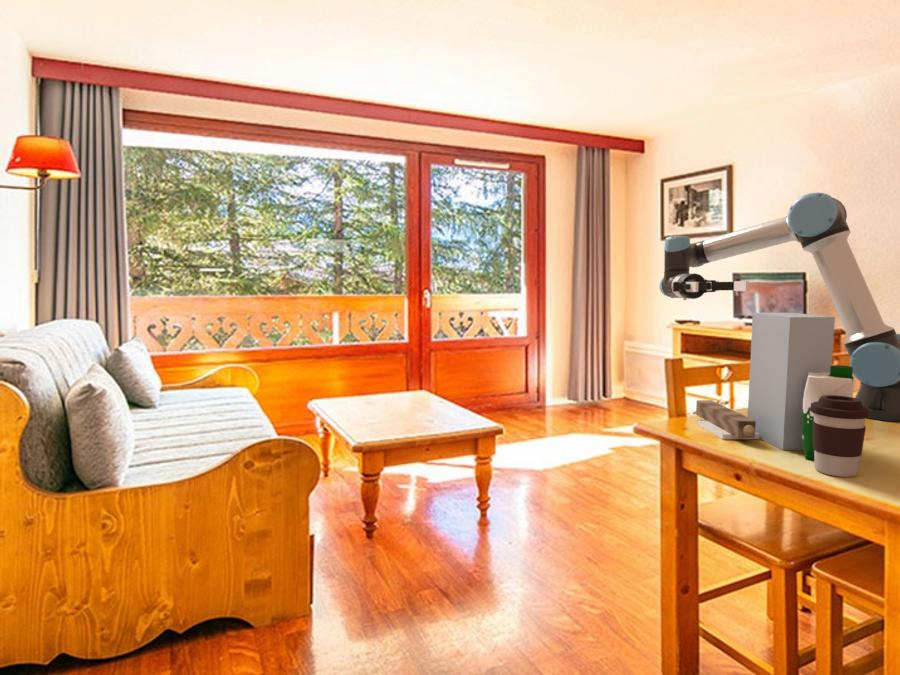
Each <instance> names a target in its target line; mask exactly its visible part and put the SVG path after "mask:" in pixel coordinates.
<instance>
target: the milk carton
mask: <svg viewBox="0 0 900 675" xmlns="http://www.w3.org/2000/svg"><path fill="white" fill-rule="evenodd" d="M853 388H854V374H853V367H850V365H849V366H848V365H841V364H837V365H836V364H835V365H834V364H832V366H830V373H825V372H822V373H813V372H808V376H807V381H806V385H805V390H804V397H803V410H802V439H803V446H804V450H803V451H804V456H805V460H811V461H815V459H814V449H813V420H814V413H813V412H811V410H810V408H811V403H813V402H818V400H819V398H820V397H821V396H825V395H837V396H847V397H853V398H854V391H853V390H854V389H853Z"/></svg>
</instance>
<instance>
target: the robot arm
mask: <svg viewBox="0 0 900 675" xmlns="http://www.w3.org/2000/svg"><path fill="white" fill-rule="evenodd" d="M787 211H788V212H787V216H784V217H780V218H777V219H773V220H769V221H767V222H763V223H760V224H759V223H758V224H756V225H752V226H749V227H746V228H741V229H739V230H735V231H732V232H728V233H724V234H722V235H721V234H720V235H717V236H715V237H711V238H708V239H704V240H701V241H696V242H694V243H691V238H690V237H689V236H687V235H673V236H668V237H666V238H665V241H664V248H663V250H664V264H663V265H664V269H663V270H664V272H663V277H662V279H661V280H660V282H659V290H660V292H661V293H662V294H663V295H664V296H666V297H668V298H671V299H683V301H687V299H688V300H690V299H691V300H695V299H696V300H697V299H699V298H700V297H702V296H703V295H704V294H707V293H716V292H717V291H718V292H719V291H734V292H749V288H750V287H749V282H750V281H749V280H741V278H736V280H734V281H719V280H718V281H717V280H715V279H705V278H704V277H703V276H702V275H701V274H699V273H690V268H698V267H701V266H704V265H706V264H709V263H712V262H716V261H720V260H724V259H727V258H731V257H735V256H740V255H743V254H747V253H750V252H751V253H752V252H755V251H760V250H762V249H766V248H770V247H774V246H778V245H782V244H786V243H790V242H797V243H800V246H801V247H802V250H803V251H805V252H808V253H811V255H812V256H813V259H814V262H815V264H816V267H817V268H818V271H819V273H820V276H821V277H822V280H823V282H824V284H825V287H826V289H827V291H828V294H829V296H830V298H831V301H832V304H833V305H834V307H835V310H836V312H837V314H838V316H839V319H840V321H841V324H842V326H843V328H844V331H845V333H846V338H845V339H844V341H843V345H844V347H845V350H846V351H847V354H848V357H849V366H850V367H853V374H852V375H853V377H854V378H856V379H857V380H858V381H860V386H859V389H858V390H857V392H856V395H855V396H854V398H857V399H859V400H861V402H862V405H863V406H865V407H867V408H869V409H870V416H869V418H868V419H871V420H872V419H873V420H879V421H887V422H900V333H897V331H896V330H895V328H894V327H893V326H890V325H888V324H886V323H884V319H883V318H882V315H881V313H880V311H879V309H878V307H877V304H876V302H875V300H874V297H873V296H872V292H871V291H870V289H869V287H868V284H867V282H866V280H865V277H864V276H863V272H862V270H861V268H860V266H859V264H858V261H857V260H856V257H855V255H854V253H853V250H852V248H851V246H850V244H849V241H848V238H849V237H850V234H851V229H850V228H849V224H848V223H847V218H848V215H847V214H848V213H847V212H848V211H847V209H846V207H845V205H844V204H843V203H842V202H841V200H838V199H837V198H835V197H832V196H831V195H830V194H828V193H824V192H811V193H807V194H804V195H802V196H799V197H798V198H797V199H796V200H795V201H794V202H793V203H792V204H791V206H790V207H789V209H788V210H787Z"/></svg>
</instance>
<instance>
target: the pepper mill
mask: <svg viewBox="0 0 900 675" xmlns="http://www.w3.org/2000/svg"><path fill="white" fill-rule="evenodd" d="M695 415H696V416H697V417H700V418H702V419H703V420H704V421H708V422H710V423H712V424H714V425H715V426H717V427H719V428H721V429H723V430H725V431H726V432H728V433H730V434H732V435H734V436H735V437H737V438H755V424H756V421H754V420H752V419H750V418H748V416H746V415H744V414H741V413H739V412H737V411H735V410H733V409H731V408H729V407H726V406H725V405H722V404H720V403H717V402H715V401H714V400H709V399H708V400H705V399H703V400H700V399H699V400H696V410H695Z"/></svg>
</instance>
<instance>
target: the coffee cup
mask: <svg viewBox="0 0 900 675" xmlns="http://www.w3.org/2000/svg"><path fill="white" fill-rule="evenodd" d="M810 410H811V412H813V413H814V420H813V449H814V459H815V460H814V469H815V470H816V471H817V472H819V473H821V474H823V475H828V476H833V477H838V478H839V477H840V478H851V477H854V476H857V475H858V472H859V467H860V466H859V465H860V459H861V456H862V453H863V448H864V440H865V435H866V419H870V418H869V416H870V409H869V408H867V407H865V406H863V405H862V402H861V400H859V399H857V398H855V397H854V396H853V397H847V396H837V395H825V396H821V397H820V398H819V400H818V402H813V403H811V408H810Z"/></svg>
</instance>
